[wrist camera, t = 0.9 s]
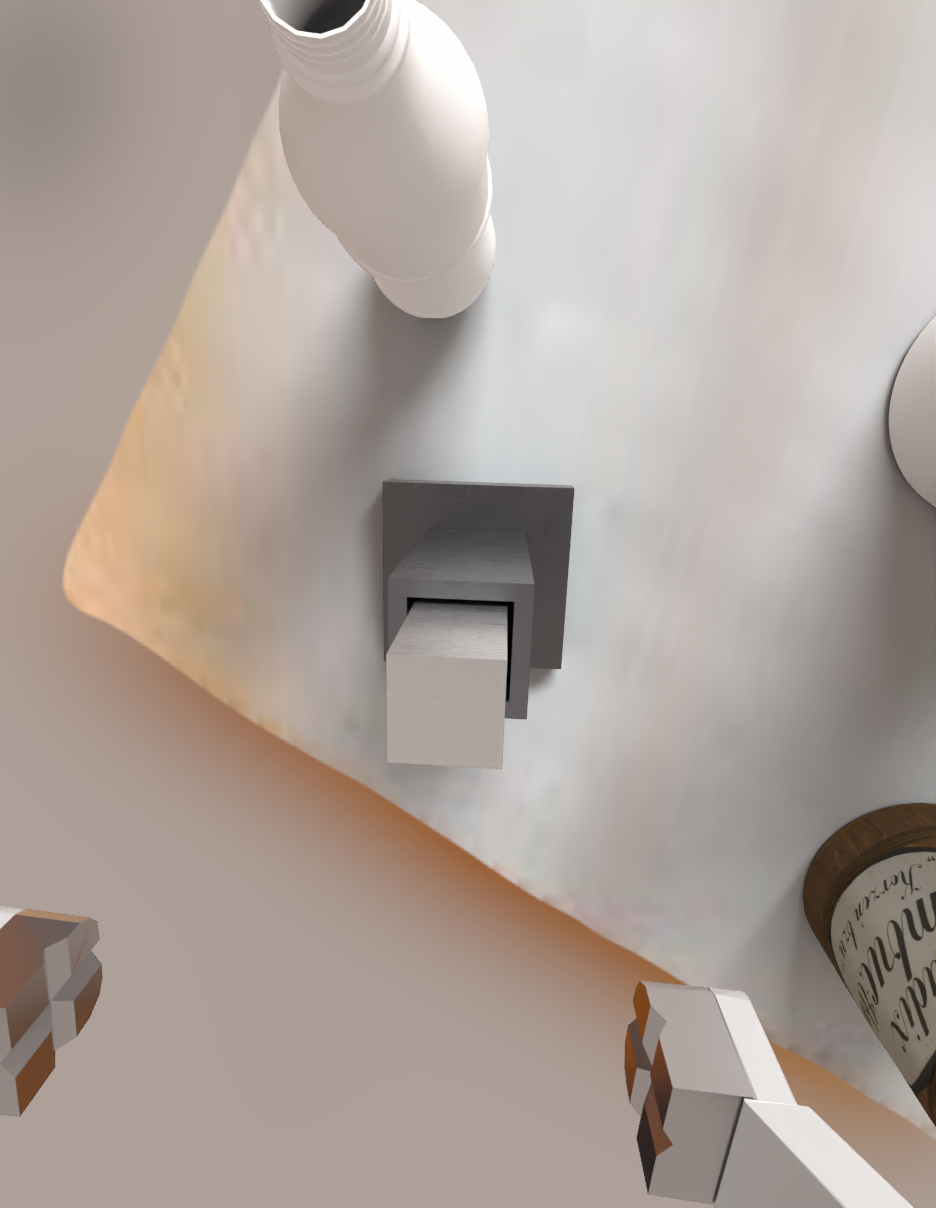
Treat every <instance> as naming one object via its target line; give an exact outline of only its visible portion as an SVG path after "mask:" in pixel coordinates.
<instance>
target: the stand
mask: <svg viewBox="0 0 936 1208" xmlns="http://www.w3.org/2000/svg"><path fill="white" fill-rule="evenodd" d="M573 498H574V488H573V487H572V486H566V485H537V484H508V483H479V482H450V481H420V480H391V479H388V480H386V481H383V584H384V660H386V654H387V652H388V650H389V648H390V647H391V645H392V643H393V641H394V639H395V637H396V636H397V634H398V632H399V630H400V628H401V626H402V625H403V623H404V621H405V619H406V617H407V615H408V614H409V612H410V610H411V608H412V606H413V604H414V602H415V601H416V599H417V597H419V598H442V599H464V600H487V601H507V678H506V699H505V718H511V719H527V704H528V687H529V670H530V668H549V669H561V661H562V648H563V634H564V621H565V607H566V593H567V580H568V566H569V553H570V539H571V526H572V512H573Z"/></svg>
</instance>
